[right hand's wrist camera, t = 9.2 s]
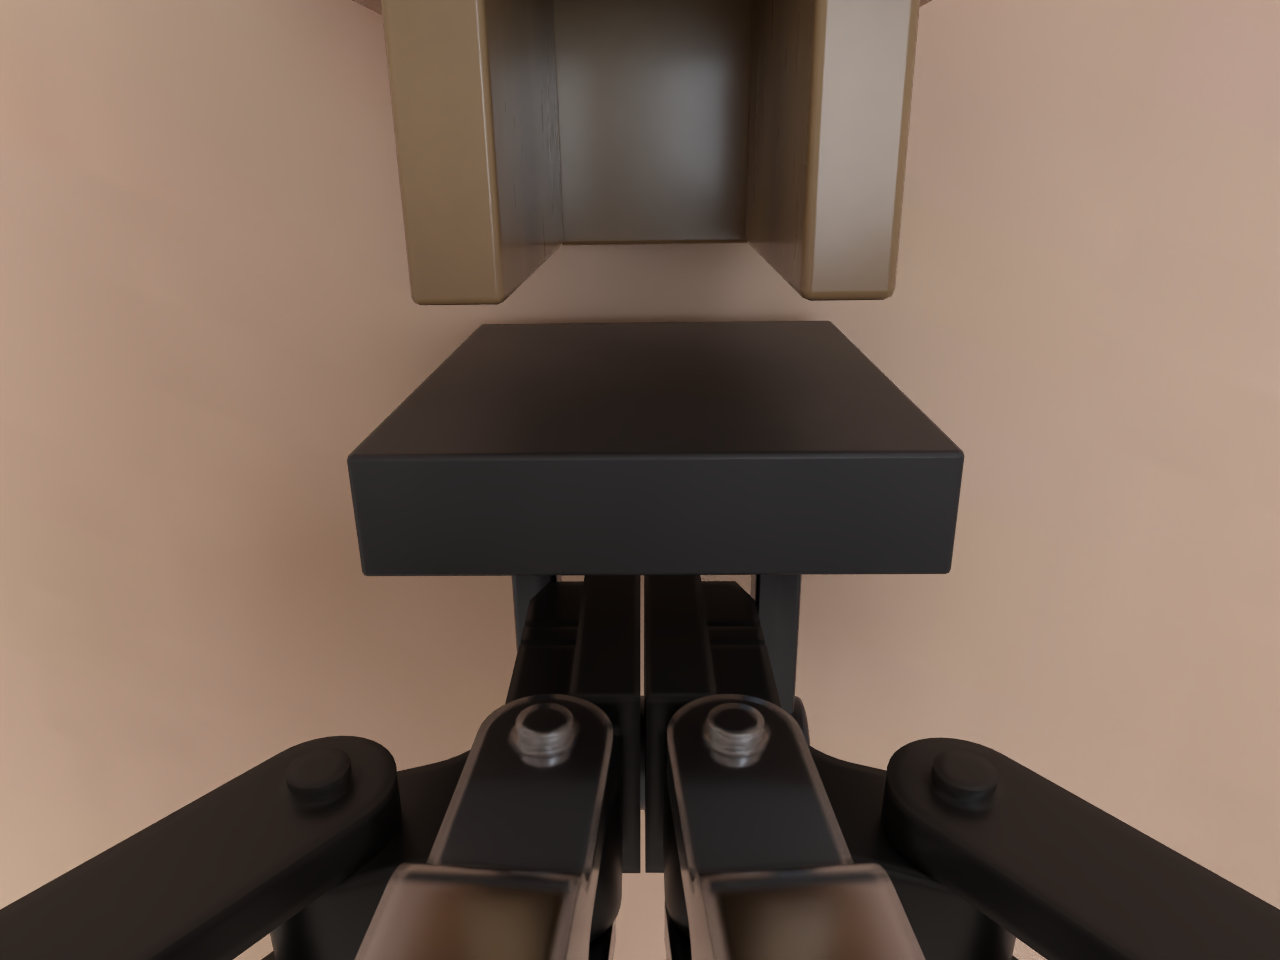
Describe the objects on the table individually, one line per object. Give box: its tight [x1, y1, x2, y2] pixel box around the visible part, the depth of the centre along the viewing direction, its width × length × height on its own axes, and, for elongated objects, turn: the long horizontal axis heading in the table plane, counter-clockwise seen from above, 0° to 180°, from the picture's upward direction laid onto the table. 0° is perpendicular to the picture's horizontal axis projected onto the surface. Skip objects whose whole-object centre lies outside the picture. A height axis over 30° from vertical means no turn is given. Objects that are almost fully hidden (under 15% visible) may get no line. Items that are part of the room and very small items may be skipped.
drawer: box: [347, 0, 964, 810], centre depth 9 cm, size 20×5×6 cm, turn 1°
